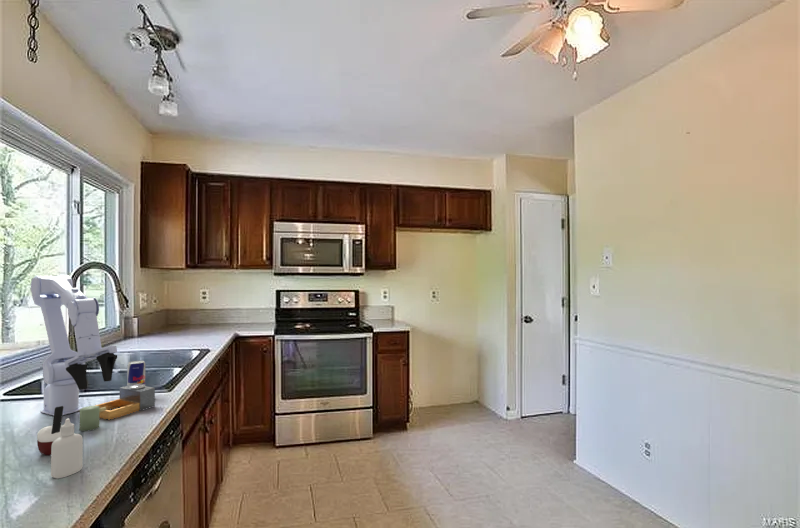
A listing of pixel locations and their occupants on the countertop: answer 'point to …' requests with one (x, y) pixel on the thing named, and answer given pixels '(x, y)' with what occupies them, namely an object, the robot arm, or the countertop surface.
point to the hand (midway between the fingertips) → (95, 385)
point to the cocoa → (50, 433)
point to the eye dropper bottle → (66, 452)
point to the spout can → (90, 417)
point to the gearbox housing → (129, 401)
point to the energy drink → (136, 373)
